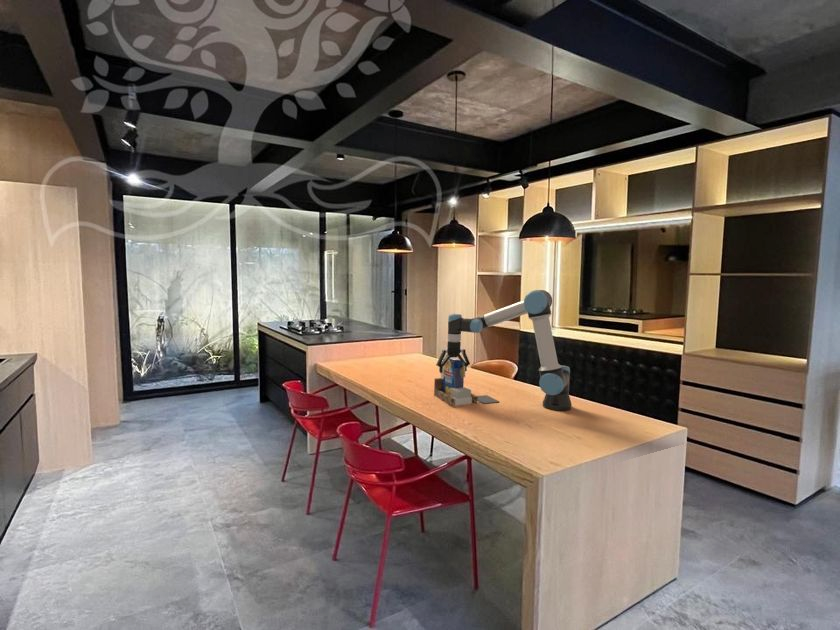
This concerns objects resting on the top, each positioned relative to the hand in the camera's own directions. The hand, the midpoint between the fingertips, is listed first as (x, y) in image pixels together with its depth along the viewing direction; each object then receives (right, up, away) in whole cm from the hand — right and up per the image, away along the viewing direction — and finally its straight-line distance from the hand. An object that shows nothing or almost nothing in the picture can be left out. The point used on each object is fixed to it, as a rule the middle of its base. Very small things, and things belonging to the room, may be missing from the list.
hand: (452, 377), depth 262 cm
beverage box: (0, -12, +1) cm, 12 cm away
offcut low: (+4, -13, -9) cm, 16 cm away
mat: (+18, -12, -2) cm, 22 cm away
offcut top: (+4, -9, -9) cm, 14 cm away
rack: (+1, -12, -2) cm, 12 cm away
